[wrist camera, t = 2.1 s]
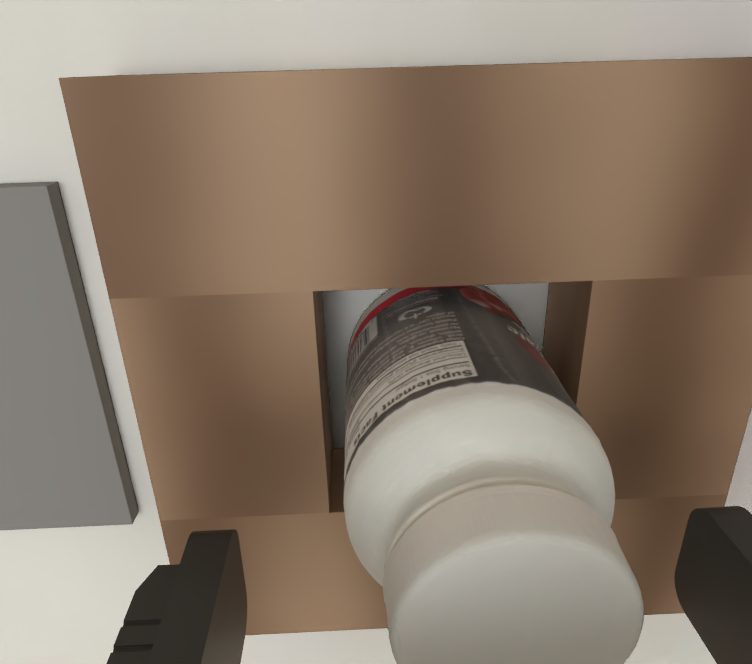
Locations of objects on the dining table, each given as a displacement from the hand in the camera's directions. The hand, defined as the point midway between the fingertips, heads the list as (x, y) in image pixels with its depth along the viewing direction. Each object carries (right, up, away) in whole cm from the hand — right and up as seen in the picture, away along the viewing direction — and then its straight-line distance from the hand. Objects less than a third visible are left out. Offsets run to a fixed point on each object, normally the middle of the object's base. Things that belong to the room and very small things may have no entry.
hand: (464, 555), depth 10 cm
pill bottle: (0, +3, +8) cm, 8 cm away
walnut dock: (0, +3, +7) cm, 8 cm away
